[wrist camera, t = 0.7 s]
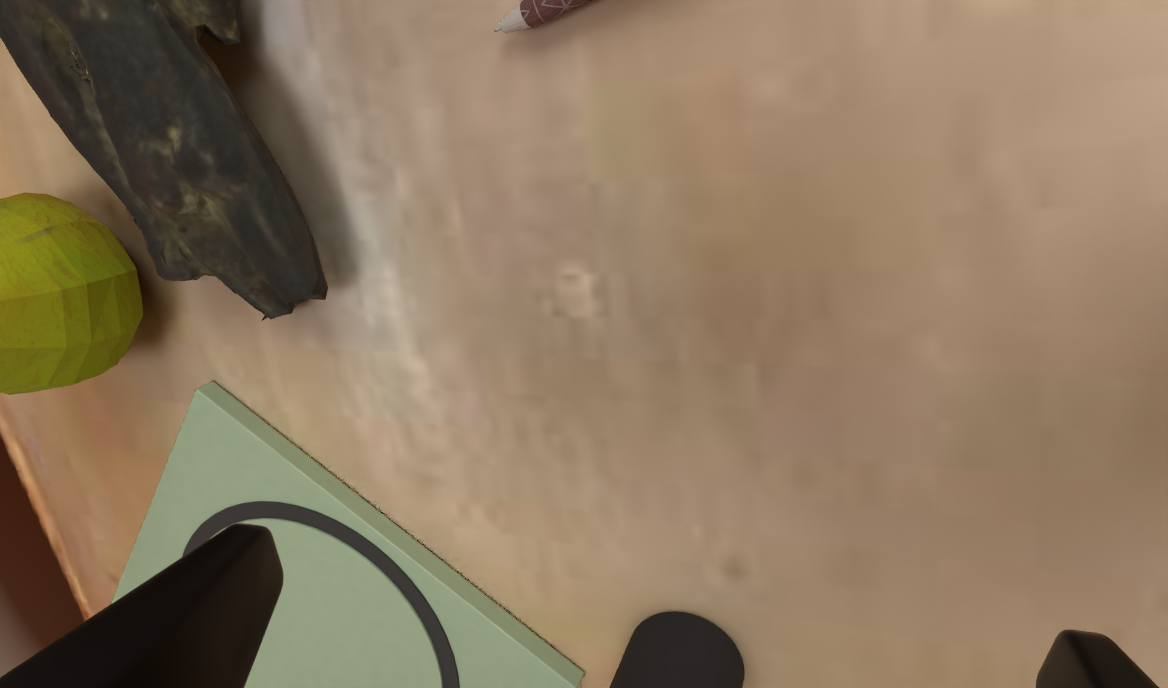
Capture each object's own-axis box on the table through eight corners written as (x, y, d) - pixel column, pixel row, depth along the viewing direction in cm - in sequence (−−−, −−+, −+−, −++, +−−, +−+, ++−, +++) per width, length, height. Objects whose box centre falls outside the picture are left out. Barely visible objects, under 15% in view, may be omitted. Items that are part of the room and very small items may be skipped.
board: (585, 672, 26) (575, 694, 26) (422, 849, 32) (409, 872, 31) (212, 379, 28) (190, 390, 27) (122, 602, 34) (101, 617, 33)
